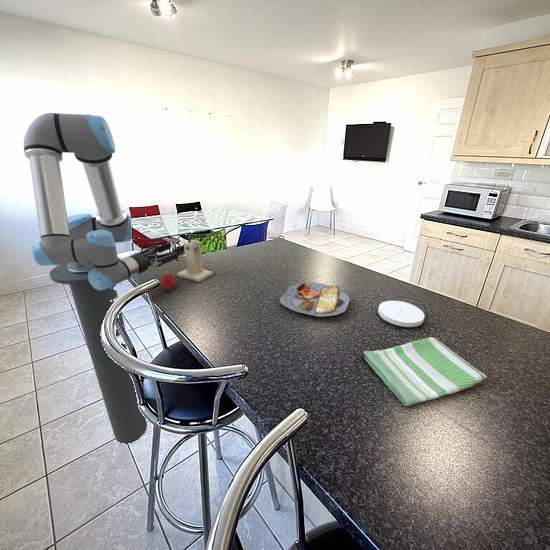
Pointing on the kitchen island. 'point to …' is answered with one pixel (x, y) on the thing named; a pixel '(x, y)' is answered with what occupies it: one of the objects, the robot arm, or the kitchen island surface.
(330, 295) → the food plate
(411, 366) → the dish towel
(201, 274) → the bracket
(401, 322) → the plastic lid
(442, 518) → the kitchen island surface
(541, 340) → the kitchen island surface
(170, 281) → the onion
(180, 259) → the lever
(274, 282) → the kitchen island surface
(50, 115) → the robot arm
